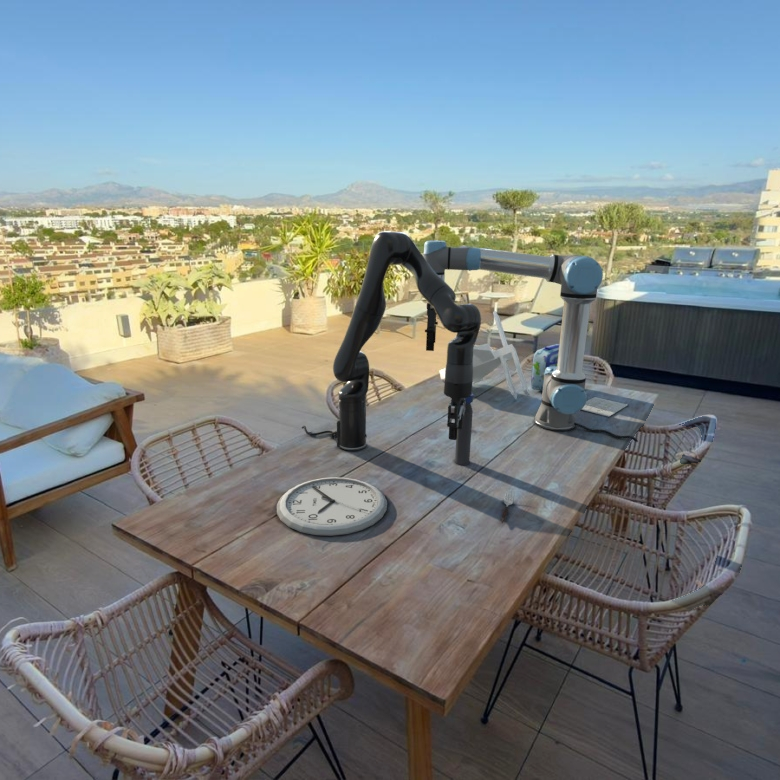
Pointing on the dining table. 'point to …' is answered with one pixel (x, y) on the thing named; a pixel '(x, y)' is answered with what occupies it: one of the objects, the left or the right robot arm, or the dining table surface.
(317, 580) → the dining table surface
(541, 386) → the lunch box
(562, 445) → the dining table surface
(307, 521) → the wall clock
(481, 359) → the white plastic object
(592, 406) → the invitation card
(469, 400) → the cap
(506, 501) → the fork
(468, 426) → the bottle
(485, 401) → the dining table surface
